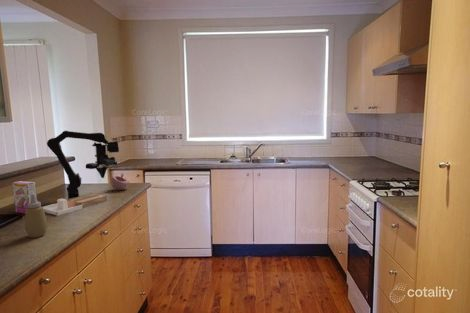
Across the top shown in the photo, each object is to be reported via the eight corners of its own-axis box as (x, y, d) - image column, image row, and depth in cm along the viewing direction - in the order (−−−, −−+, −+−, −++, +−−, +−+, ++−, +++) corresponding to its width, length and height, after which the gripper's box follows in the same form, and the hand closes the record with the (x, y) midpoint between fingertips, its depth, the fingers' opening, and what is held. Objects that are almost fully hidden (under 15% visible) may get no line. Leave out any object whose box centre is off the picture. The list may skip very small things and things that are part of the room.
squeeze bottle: (32, 232, 136) (28, 192, 134) (51, 231, 137) (48, 191, 134) (21, 239, 128) (17, 197, 126) (42, 238, 129) (38, 196, 126)
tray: (39, 211, 166) (39, 207, 165) (64, 204, 178) (64, 201, 178) (57, 215, 158) (57, 212, 158) (82, 208, 170) (82, 205, 170)
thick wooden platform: (66, 204, 178) (66, 199, 177) (91, 198, 192) (91, 193, 191) (82, 208, 171) (81, 202, 171) (106, 200, 185) (106, 196, 184)
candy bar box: (14, 212, 163) (11, 182, 161) (23, 210, 168) (20, 180, 166) (29, 215, 160) (26, 184, 157) (38, 212, 164) (36, 181, 162)
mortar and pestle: (126, 192, 206) (125, 175, 204) (108, 192, 206) (107, 175, 204) (132, 187, 218) (131, 171, 216) (115, 187, 218) (114, 171, 216)
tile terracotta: (62, 207, 171) (61, 202, 171) (70, 204, 175) (70, 200, 175) (67, 208, 168) (67, 203, 168) (76, 206, 173) (76, 201, 172)
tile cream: (62, 207, 171) (57, 208, 168) (61, 198, 170) (57, 199, 168) (67, 208, 168) (63, 209, 166) (67, 199, 167) (62, 200, 165)
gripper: (96, 155, 179) (98, 182, 181) (122, 152, 195) (123, 176, 197) (84, 154, 184) (86, 180, 186) (110, 151, 200) (112, 174, 202)
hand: (102, 177), depth 193 cm, fingers closed
